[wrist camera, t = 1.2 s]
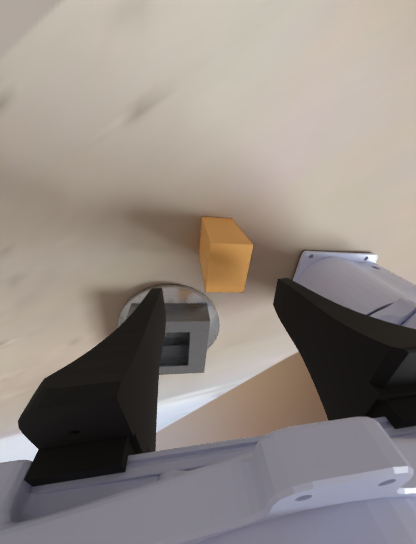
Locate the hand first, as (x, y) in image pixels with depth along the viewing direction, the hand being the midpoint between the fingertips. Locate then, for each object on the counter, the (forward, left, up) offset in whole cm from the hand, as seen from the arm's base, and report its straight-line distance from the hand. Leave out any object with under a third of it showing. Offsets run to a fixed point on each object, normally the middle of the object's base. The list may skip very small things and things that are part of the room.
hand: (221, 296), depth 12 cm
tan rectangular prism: (-1, 0, -10) cm, 10 cm away
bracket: (+4, +12, -10) cm, 15 cm away
